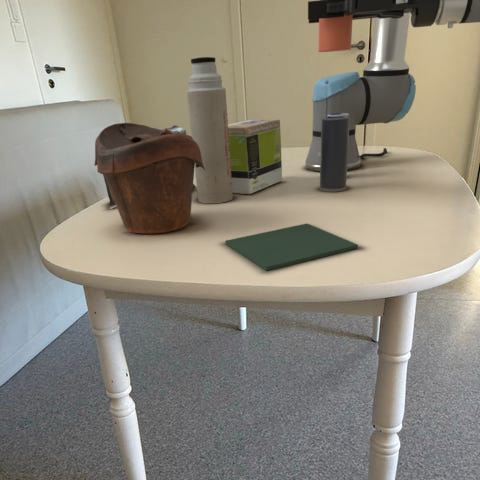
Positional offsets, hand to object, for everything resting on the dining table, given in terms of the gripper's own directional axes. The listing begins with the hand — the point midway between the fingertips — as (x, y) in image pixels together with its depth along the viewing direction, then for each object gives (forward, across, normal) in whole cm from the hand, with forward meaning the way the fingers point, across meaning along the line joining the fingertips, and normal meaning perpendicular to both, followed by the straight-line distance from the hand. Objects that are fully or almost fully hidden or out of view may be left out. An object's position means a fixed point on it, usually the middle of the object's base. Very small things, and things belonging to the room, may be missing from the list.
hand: (308, 12), depth 84 cm
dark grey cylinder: (-6, +5, -34) cm, 35 cm away
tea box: (+14, +9, -34) cm, 38 cm away
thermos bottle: (+21, -3, -34) cm, 40 cm away
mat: (+2, -35, -34) cm, 49 cm away
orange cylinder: (-5, 0, -6) cm, 8 cm away
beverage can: (-7, +18, -34) cm, 39 cm away
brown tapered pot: (+28, -22, -34) cm, 49 cm away
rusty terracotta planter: (+37, +1, -34) cm, 50 cm away
